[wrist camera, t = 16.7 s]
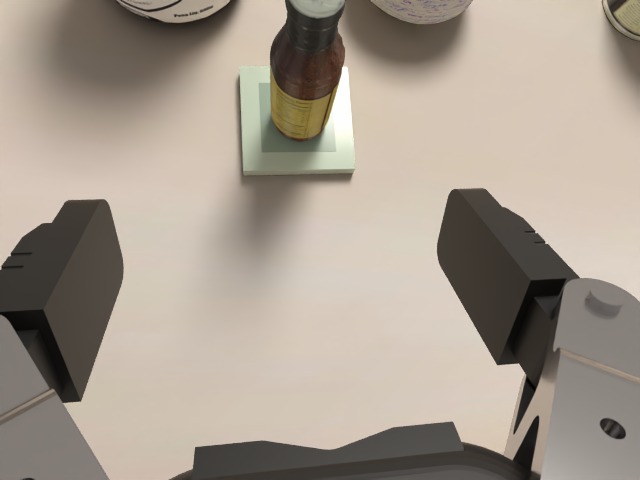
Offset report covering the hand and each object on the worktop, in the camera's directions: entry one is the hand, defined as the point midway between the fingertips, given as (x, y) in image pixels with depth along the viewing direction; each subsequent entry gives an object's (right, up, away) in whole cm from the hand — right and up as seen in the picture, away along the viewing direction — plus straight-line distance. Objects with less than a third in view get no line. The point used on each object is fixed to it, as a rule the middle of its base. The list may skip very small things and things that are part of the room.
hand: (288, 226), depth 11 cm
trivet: (-2, +13, +40) cm, 42 cm away
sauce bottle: (-2, +13, +38) cm, 40 cm away
